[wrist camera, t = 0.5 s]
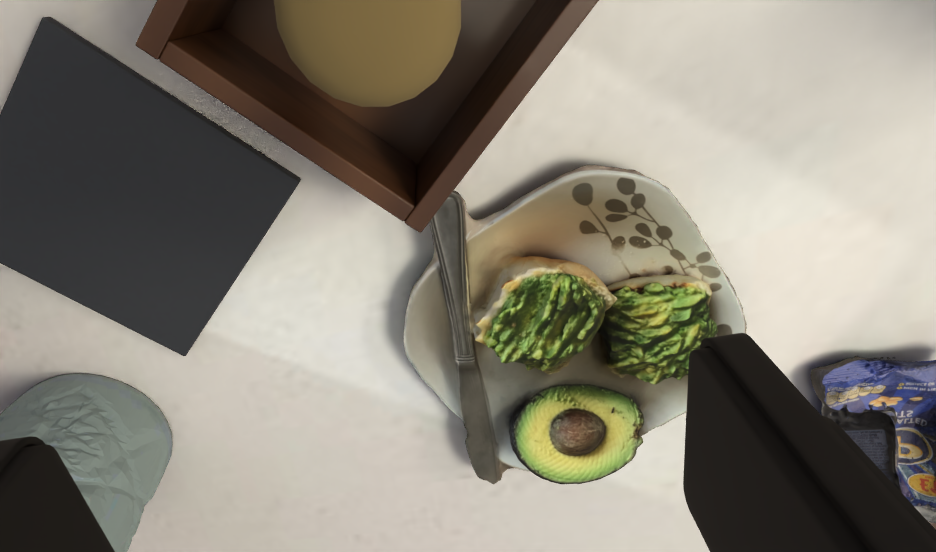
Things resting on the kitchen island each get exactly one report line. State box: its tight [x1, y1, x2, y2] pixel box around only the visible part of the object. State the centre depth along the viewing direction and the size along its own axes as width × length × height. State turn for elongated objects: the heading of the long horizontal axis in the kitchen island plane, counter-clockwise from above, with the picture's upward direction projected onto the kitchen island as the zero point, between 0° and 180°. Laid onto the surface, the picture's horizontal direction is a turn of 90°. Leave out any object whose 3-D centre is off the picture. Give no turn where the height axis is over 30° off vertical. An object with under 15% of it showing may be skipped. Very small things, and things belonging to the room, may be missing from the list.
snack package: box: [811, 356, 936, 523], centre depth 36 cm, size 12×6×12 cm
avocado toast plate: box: [403, 165, 746, 484], centre depth 31 cm, size 19×18×5 cm
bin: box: [136, 0, 599, 233], centre depth 23 cm, size 12×12×7 cm
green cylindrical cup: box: [0, 374, 172, 552], centre depth 29 cm, size 10×10×12 cm
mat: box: [0, 17, 301, 356], centre depth 29 cm, size 12×12×1 cm
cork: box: [274, 0, 461, 107], centre depth 20 cm, size 6×6×11 cm
